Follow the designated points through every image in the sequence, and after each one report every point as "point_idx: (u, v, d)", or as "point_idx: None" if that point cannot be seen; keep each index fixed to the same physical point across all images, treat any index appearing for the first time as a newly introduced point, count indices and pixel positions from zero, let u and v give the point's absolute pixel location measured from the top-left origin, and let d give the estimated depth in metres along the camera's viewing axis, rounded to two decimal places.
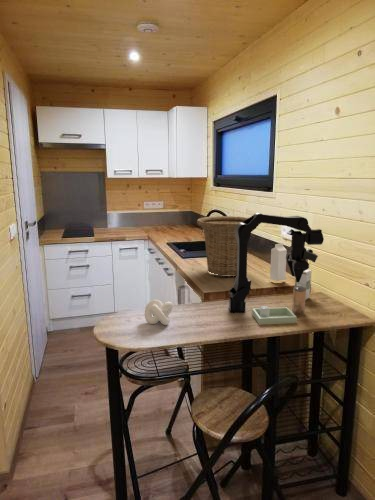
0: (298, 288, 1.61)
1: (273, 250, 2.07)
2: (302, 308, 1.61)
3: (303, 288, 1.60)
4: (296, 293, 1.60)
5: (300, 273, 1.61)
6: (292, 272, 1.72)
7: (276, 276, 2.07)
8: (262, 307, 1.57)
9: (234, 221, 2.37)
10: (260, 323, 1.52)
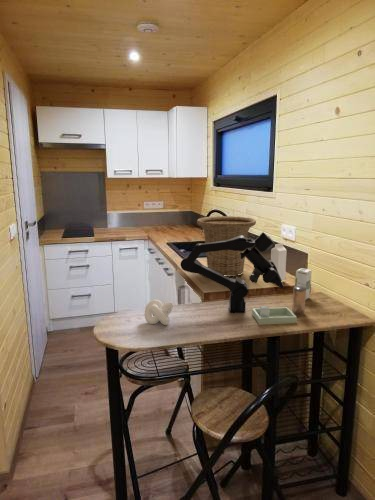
0: (298, 288, 1.61)
1: (273, 250, 2.07)
2: (302, 308, 1.61)
3: (303, 288, 1.60)
4: (296, 293, 1.60)
5: None
6: None
7: None
8: (262, 307, 1.57)
9: (234, 221, 2.37)
10: (260, 323, 1.52)
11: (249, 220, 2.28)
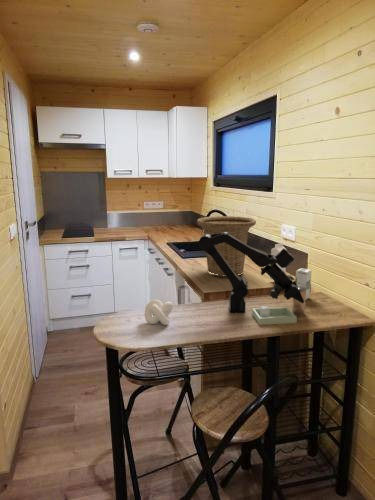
0: None
1: (273, 250, 2.07)
2: (302, 308, 1.61)
3: (303, 288, 1.60)
4: None
5: None
6: None
7: None
8: (262, 307, 1.57)
9: (234, 221, 2.37)
10: (260, 323, 1.52)
11: (249, 220, 2.28)
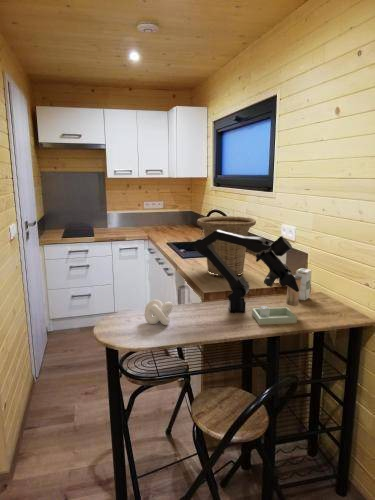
0: None
1: None
2: (297, 297, 1.57)
3: (298, 277, 1.57)
4: None
5: None
6: None
7: None
8: (262, 307, 1.57)
9: (234, 221, 2.37)
10: (260, 323, 1.52)
11: (249, 220, 2.28)
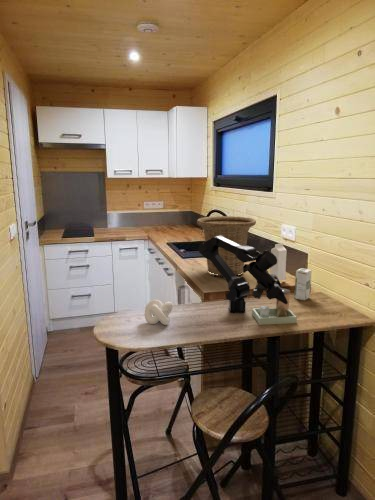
0: None
1: (273, 250, 2.07)
2: (285, 311, 1.55)
3: (287, 291, 1.55)
4: None
5: None
6: None
7: None
8: (262, 307, 1.57)
9: (234, 221, 2.37)
10: (260, 323, 1.52)
11: (249, 220, 2.28)
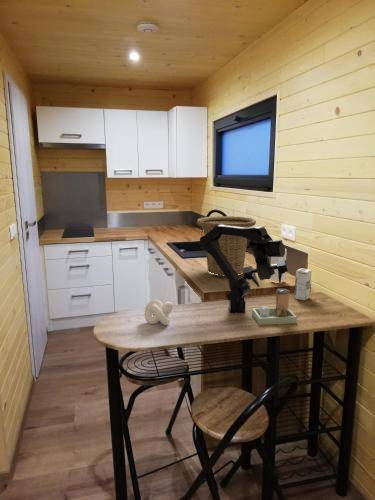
0: (281, 291, 1.55)
1: None
2: (285, 311, 1.55)
3: (286, 291, 1.55)
4: (279, 296, 1.55)
5: None
6: None
7: (276, 276, 2.07)
8: (262, 307, 1.57)
9: (234, 221, 2.37)
10: (260, 323, 1.52)
11: (249, 220, 2.28)
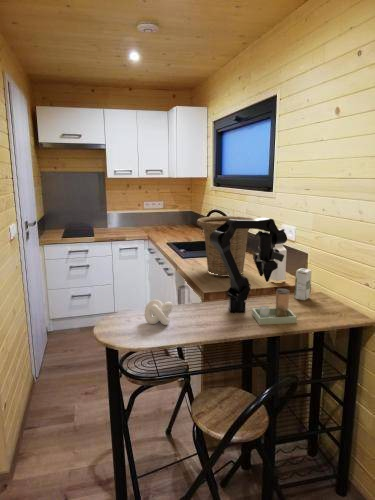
0: (281, 291, 1.55)
1: None
2: (285, 311, 1.55)
3: (286, 291, 1.55)
4: (279, 296, 1.55)
5: (269, 273, 1.66)
6: (260, 272, 1.76)
7: (276, 276, 2.07)
8: (262, 307, 1.57)
9: None
10: (260, 323, 1.52)
11: None
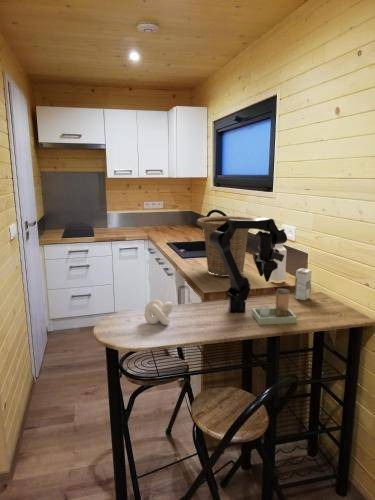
0: (281, 291, 1.55)
1: None
2: (285, 311, 1.55)
3: (286, 291, 1.55)
4: (279, 296, 1.55)
5: (269, 273, 1.66)
6: (260, 272, 1.76)
7: (276, 276, 2.07)
8: (262, 307, 1.57)
9: None
10: (260, 323, 1.52)
11: None
